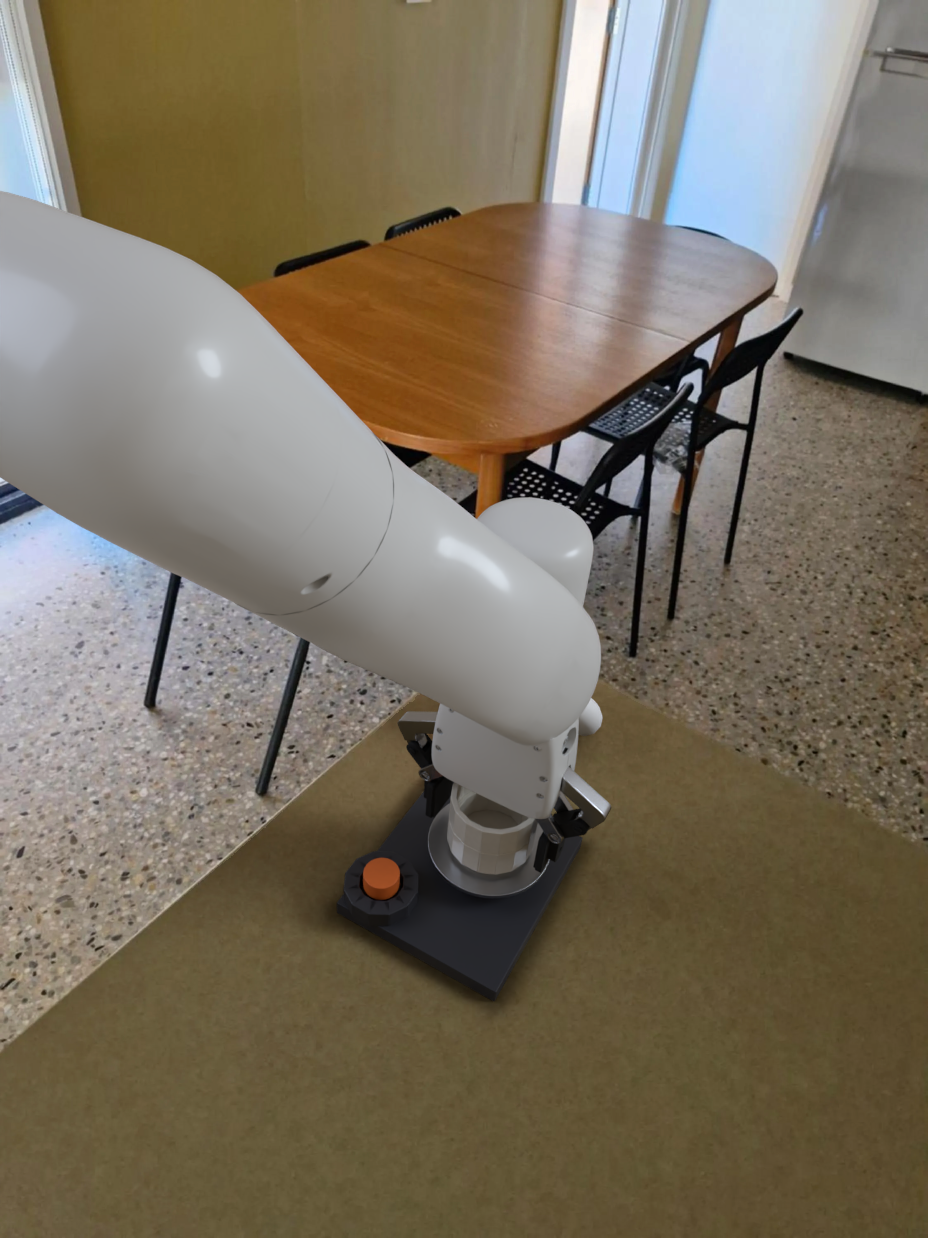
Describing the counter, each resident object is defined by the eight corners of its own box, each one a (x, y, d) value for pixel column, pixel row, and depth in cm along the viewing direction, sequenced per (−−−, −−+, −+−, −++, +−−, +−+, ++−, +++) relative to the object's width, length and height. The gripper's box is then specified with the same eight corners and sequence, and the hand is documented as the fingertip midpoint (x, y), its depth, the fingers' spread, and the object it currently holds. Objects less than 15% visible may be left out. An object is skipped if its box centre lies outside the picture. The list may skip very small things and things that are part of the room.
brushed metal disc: (516, 920, 67) (517, 917, 67) (404, 861, 70) (404, 858, 70) (570, 828, 74) (570, 825, 74) (465, 778, 77) (465, 775, 77)
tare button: (386, 906, 67) (386, 894, 66) (356, 889, 68) (355, 877, 67) (406, 879, 69) (406, 867, 68) (376, 863, 70) (376, 851, 69)
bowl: (508, 892, 68) (516, 848, 65) (431, 853, 70) (434, 808, 67) (546, 830, 73) (555, 786, 69) (472, 795, 75) (478, 750, 72)
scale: (492, 1006, 65) (495, 985, 63) (330, 914, 69) (329, 892, 68) (580, 847, 76) (585, 825, 74) (436, 778, 81) (438, 755, 79)
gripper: (652, 690, 60) (608, 846, 70) (431, 601, 66) (422, 757, 76) (611, 761, 54) (570, 918, 65) (375, 657, 60) (373, 817, 71)
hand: (490, 831), depth 71 cm, fingers open, 9 cm apart
